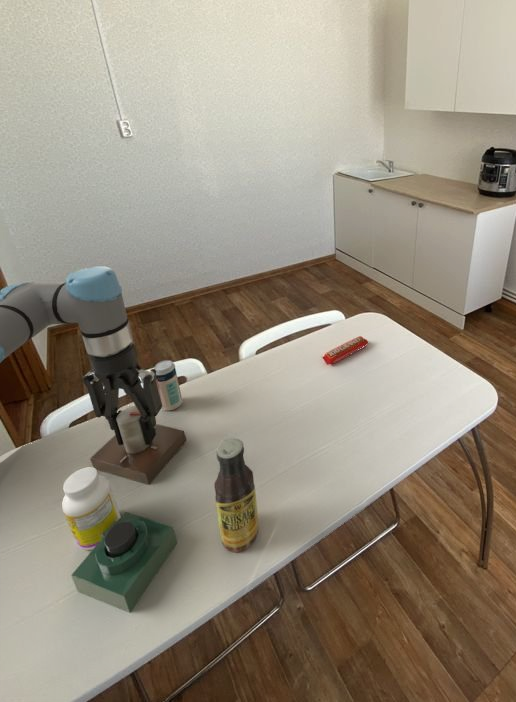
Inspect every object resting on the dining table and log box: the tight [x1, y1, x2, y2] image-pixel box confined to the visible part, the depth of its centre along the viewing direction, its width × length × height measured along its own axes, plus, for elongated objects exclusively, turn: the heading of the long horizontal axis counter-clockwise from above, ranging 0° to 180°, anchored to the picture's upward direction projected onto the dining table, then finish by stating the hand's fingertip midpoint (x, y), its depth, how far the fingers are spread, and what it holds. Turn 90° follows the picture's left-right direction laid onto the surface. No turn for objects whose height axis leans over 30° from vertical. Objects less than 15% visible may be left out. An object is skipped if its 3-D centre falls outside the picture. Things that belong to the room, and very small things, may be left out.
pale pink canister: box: [153, 359, 184, 411], centre depth 94 cm, size 5×5×12 cm
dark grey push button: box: [104, 521, 137, 557], centre depth 60 cm, size 4×4×2 cm
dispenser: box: [70, 511, 178, 613], centre depth 61 cm, size 10×10×6 cm
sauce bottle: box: [214, 437, 259, 553], centre depth 63 cm, size 7×6×20 cm
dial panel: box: [89, 423, 187, 486], centre depth 82 cm, size 14×11×3 cm
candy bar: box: [321, 335, 369, 366], centre depth 114 cm, size 16×4×3 cm, turn 131°
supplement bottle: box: [61, 466, 122, 551], centre depth 65 cm, size 7×7×13 cm
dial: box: [116, 405, 151, 454], centre depth 80 cm, size 5×5×8 cm
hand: (137, 439), depth 81 cm, fingers closed on dial, 5 cm apart
